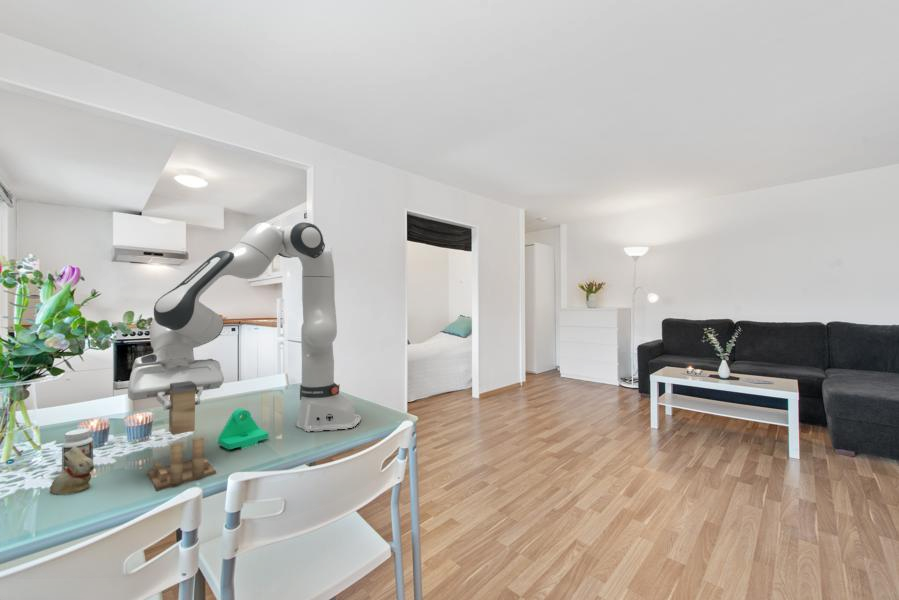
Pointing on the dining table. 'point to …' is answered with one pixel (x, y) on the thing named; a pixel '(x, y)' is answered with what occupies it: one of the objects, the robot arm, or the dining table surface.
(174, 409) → the brown tall rectangular block
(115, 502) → the dining table surface
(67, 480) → the chocolate bunny
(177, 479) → the wooden twin towers
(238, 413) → the camera mount
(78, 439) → the pill bottle
